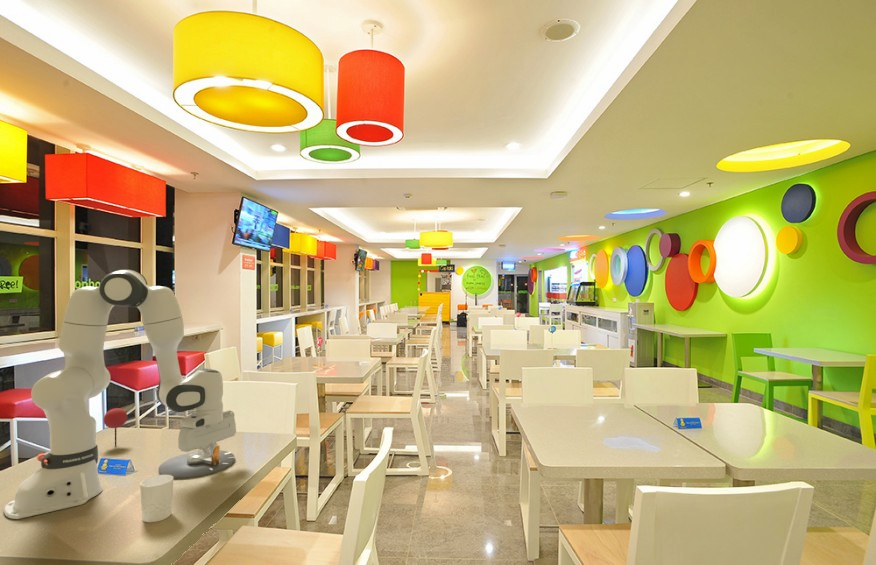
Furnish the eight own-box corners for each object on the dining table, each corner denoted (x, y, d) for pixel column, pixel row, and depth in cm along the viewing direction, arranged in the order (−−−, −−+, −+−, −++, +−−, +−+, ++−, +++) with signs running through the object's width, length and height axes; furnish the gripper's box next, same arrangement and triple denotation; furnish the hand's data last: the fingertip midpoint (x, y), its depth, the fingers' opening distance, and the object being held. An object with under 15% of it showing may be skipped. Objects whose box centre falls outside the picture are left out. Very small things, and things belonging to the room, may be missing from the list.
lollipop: (131, 443, 190) (131, 406, 191) (114, 449, 183) (114, 411, 183) (116, 442, 192) (116, 405, 192) (98, 448, 185) (99, 410, 185)
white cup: (149, 526, 123) (149, 488, 123) (134, 519, 127) (134, 482, 128) (179, 514, 130) (179, 478, 130) (164, 507, 134) (164, 472, 134)
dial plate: (174, 485, 149) (174, 480, 150) (148, 466, 165) (148, 462, 165) (246, 463, 168) (246, 459, 168) (217, 448, 183) (217, 445, 183)
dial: (182, 462, 165) (182, 444, 165) (199, 456, 171) (199, 439, 171) (209, 469, 159) (209, 450, 159) (226, 462, 165) (226, 444, 165)
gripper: (227, 408, 171) (227, 446, 171) (175, 422, 153) (175, 465, 152) (240, 410, 168) (240, 448, 168) (188, 424, 150) (188, 468, 150)
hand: (208, 456), depth 160 cm, fingers closed
